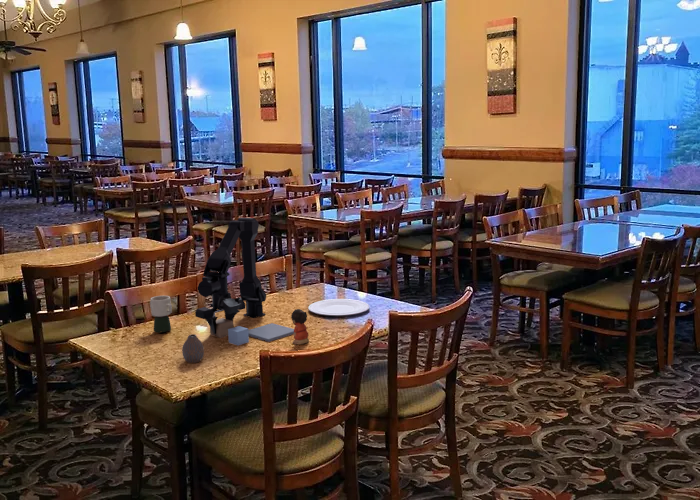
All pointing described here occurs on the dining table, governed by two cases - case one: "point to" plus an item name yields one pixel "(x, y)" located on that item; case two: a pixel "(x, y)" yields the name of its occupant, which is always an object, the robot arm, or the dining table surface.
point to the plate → (338, 307)
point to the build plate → (270, 332)
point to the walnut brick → (222, 327)
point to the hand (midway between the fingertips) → (221, 331)
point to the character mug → (161, 313)
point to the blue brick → (238, 335)
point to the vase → (193, 349)
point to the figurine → (300, 326)
